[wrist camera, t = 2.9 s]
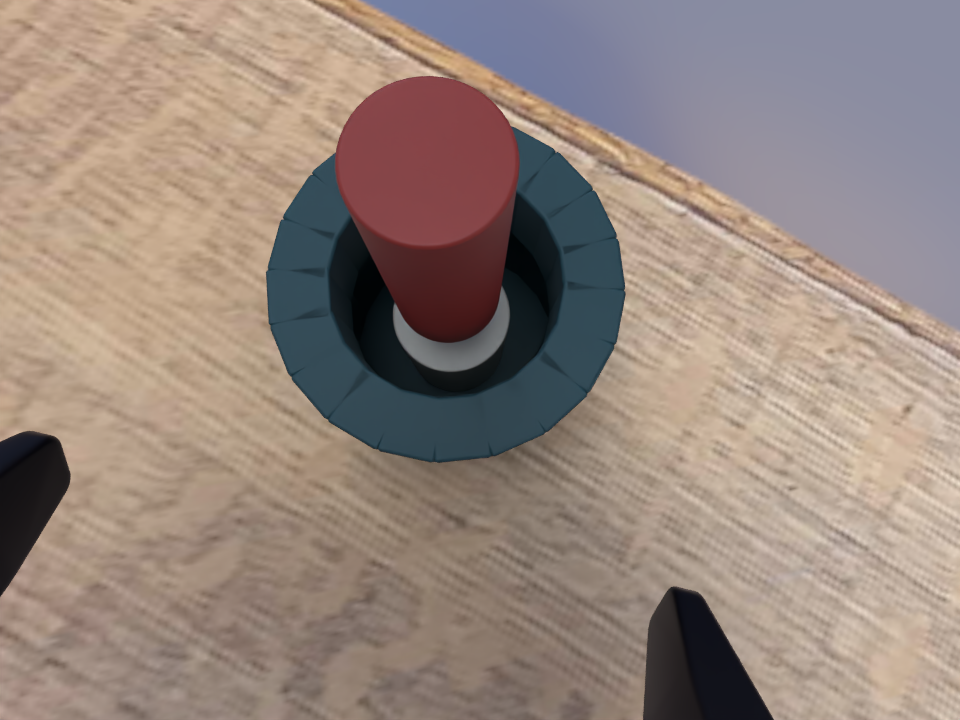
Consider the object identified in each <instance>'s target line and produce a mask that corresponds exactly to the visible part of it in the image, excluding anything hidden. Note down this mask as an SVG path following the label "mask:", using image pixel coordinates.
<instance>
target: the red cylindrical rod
mask: <svg viewBox="0 0 960 720" xmlns="http://www.w3.org/2000/svg"><path fill="white" fill-rule="evenodd" d="M519 167H520V160H519V150H518V145H517V141H516V138H515V135H514V132H513V130H512V128H511V126H510V124H509V122H508V120H507V119H506V117H505V116H504V114H503V113H502V112H501V110H500V109H499V108H498V107H497V106H496V105H495V104H494V103H493V102H492V101H491V100H490V99H489V98H488V97H486V96H485V95H484V94H482V93H481V92H479V91H478V90H476V89H475V88H473V87H471V86H469V85H467V84H465V83H462V82H459V81H456V80H453V79H448V78H444V77H434V76H421V77H413V78H407V79H403V80H400V81H396V82H394V83H391V84H389V85H386V86H384V87H383V88H381V89H379V90H377V91H376V92H374V93H373V94H371V95H370V96H369V97H367V98H366V99H365V100H364V101H363V102H362V103H361V104H360V105H359V106H358V107H357V108H356V109H355V111H354V112H353V113H352V114H351V116H350V117H349V119H348V121H347V122H346V124H345V126H344V128H343V130H342V133H341V135H340V138H339V141H338V145H337V149H336V156H335V173H336V180H337V185H338V188H339V191H340V194H341V196H342V199H343V201H344V203H345V205H346V207H347V209H348V211H349V213H350V215H351V217H352V219H353V221H354V223H355V225H356V227H357V229H358V231H359V233H360V235H361V237H362V239H363V241H364V242H365V244H366V246H367V248H368V250H369V252H370V254H371V256H372V258H373V260H374V262H375V264H376V266H377V268H378V270H379V272H380V274H381V276H382V278H383V280H384V282H385V284H386V286H387V288H388V290H389V292H390V294H391V296H392V298H393V300H394V308H393V323H394V329H395V332H396V335H397V337H398V340H399V342H400V343H401V345H402V347H403V348H404V350H405V351H406V353H407V355H408V356H409V358H410V359H411V361H412V362H413V364H414V365H415V367H416V369H417V370H418V372H419V373H420V374H421V376H422V377H423V378H424V379H425V380H426V381H428V382H429V383H430V384H432V385H434V386H435V387H437V388H440V389H443V390H447V391H454V392H456V391H466V390H470V389H473V388H475V387H477V386H479V385H481V384H482V383H484V382H485V381H486V380H487V379H488V378H489V377H490V376H491V375H492V374H493V373H494V371H495V370H496V368H497V366H498V364H499V361H500V358H501V355H502V351H503V347H504V343H505V339H506V335H507V332H508V327H509V322H510V307H509V302H508V299H507V295H506V293H505V291H504V289H503V287H502V279H503V273H504V266H505V260H506V254H507V247H508V241H509V235H510V228H511V222H512V216H513V209H514V203H515V196H516V190H517V184H518V177H519Z"/></svg>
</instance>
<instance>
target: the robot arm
mask: <svg viewBox="0 0 960 720" xmlns="http://www.w3.org/2000/svg"><path fill="white" fill-rule="evenodd" d="M69 484H70V471H69V467H68V464H67V461H66V458H65V455H64V452H63V448H62V445H61V443H60V441H59V440H58V439H57V438H56V437H54V436H51V435H47V434H43V433H39V432H35V431H26V432H22V433H19V434H17V435H14V436H12V437H10V438H8V439H5V440H3V441H1V442H0V596H1V595H2V594H3V592H4V591H5V589H6V588H7V587H8V585H9V584H10V582H11V581H12V579H13V578H14V576H15V575H16V573H17V572H18V570H19V569H20V567H21V565H22V564H23V562H24V560H25V559H26V557H27V555H28V554H29V552H30V551H31V549H32V547H33V546H34V544H35V542H36V541H37V539H38V537H39V536H40V534H41V532H42V531H43V529H44V528H45V526H46V524H47V523H48V521H49V519H50V518H51V516H52V514H53V513H54V511H55V509H56V508H57V506H58V504H59V503H60V501H61V500H62V498H63V496H64V495H65V493H66V491H67V489H68V487H69ZM643 720H774V719H773V717H772V715H771V714H770V712H769V710H768V708H767V707H766V705H765V703H764V701H763V700H762V698H761V696H760V695H759V693H758V691H757V689H756V688H755V686H754V684H753V682H752V681H751V679H750V677H749V675H748V674H747V672H746V670H745V669H744V667H743V665H742V663H741V662H740V660H739V658H738V656H737V655H736V653H735V651H734V649H733V648H732V646H731V644H730V643H729V641H728V639H727V637H726V636H725V634H724V632H723V630H722V629H721V627H720V625H719V623H718V622H717V620H716V618H715V616H714V615H713V613H712V611H711V610H710V608H709V606H708V604H707V603H706V601H705V599H704V598H703V597H702V595H700V594H699V593H698V592H696V591H692V590H688V589H684V588H679V587H671V588H669V589H668V591H667V592H666V594H665V595H664V597H663V599H662V600H661V602H660V604H659V605H658V607H657V609H656V610H655V612H654V614H653V615H652V617H651V620H650V623H649V628H648V640H647V658H646V676H645V694H644V712H643Z"/></svg>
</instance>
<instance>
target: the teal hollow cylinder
mask: <svg viewBox="0 0 960 720" xmlns="http://www.w3.org/2000/svg"><path fill="white" fill-rule="evenodd" d="M511 128H512V130H513V132H514V135H515V138H516V141H517V145H518V150H519V160H520V167H519V177H518V184H517V190H516V196H515V203H514V209H513V216H512V222H511V228H510V235H509V241H508V247H507V254H506V260H505V266H504V273H503V279H502V287H503V289H504V291H505V293H506V295H507V299H508V302H509V307H510V322H509V327H508V332H507V335H506V339H505V343H504V347H503V351H502V355H501V358H500V361H499V364H498V366H497V368H496V370H495V371H494V373H493V374H492V375H491V376H490V377H489V378H488V379H487V380H486V381H485V382H484V383H482V384H481V385H479V386H477V387H475V388H473V389H470V390H466V391H456V392H454V391H447V390H443V389H440V388H437V387H435V386H434V385H432V384H430V383H429V382H428V381H426V380H425V379H424V378H423V377H422V376H421V374H420V373H419V372H418V370H417V369H416V367H415V365H414V364H413V362H412V361H411V359H410V358H409V356H408V355H407V353H406V351H405V350H404V348H403V347H402V345H401V343H400V342H399V340H398V337H397V335H396V332H395V329H394V323H393V308H394V300H393V298H392V296H391V294H390V292H389V290H388V288H387V286H386V284H385V282H384V280H383V278H382V276H381V274H380V272H379V270H378V268H377V266H376V264H375V262H374V260H373V258H372V256H371V254H370V252H369V250H368V248H367V246H366V244H365V242H364V241H363V239H362V237H361V235H360V233H359V231H358V229H357V227H356V225H355V223H354V221H353V219H352V217H351V215H350V213H349V211H348V209H347V207H346V205H345V203H344V201H343V199H342V196H341V194H340V191H339V188H338V185H337V180H336V173H335V156H336V153H335V154H333V155H332V156H331V157H330V158H328V159H327V160H326V161H325V162H323V163H322V164H321V165H320V166H319V167H317V168H316V169H315V170H314V171H313V172H312V174H313V175H310V176H309V177H308V179H307V180H306V182H305V183H304V185H303V186H302V188H301V189H300V191H299V192H298V194H297V195H296V197H295V198H294V200H293V202H292V203H291V205H290V206H289V208H288V209H287V211H286V212H285V214H284V216H283V219H284V220H281V222H280V225H279V228H278V232H277V236H276V239H275V243H274V247H273V250H272V254H271V257H270V261H269V265H268V271H267V272H266V279H267V298H268V317H269V324H270V325H271V331H272V334H273V336H274V339H275V341H276V344H277V346H278V349H279V351H280V354H281V356H282V359H283V361H284V364H285V366H286V369H287V371H288V374H289V375H290V376H291V377H292V380H293V382H294V383H295V384H296V385H297V386H298V387H299V389H300V390H301V391H302V392H303V393H304V394H305V396H306V397H307V398H308V399H309V400H310V402H311V403H312V404H313V405H314V406H315V407H316V409H317V410H318V411H319V412H320V413H321V414H322V416H323V417H324V418H326V419H328V421H329V422H330V423H331V424H333V425H335V426H336V427H338V428H340V429H342V430H343V431H345V432H347V433H348V434H350V435H352V436H353V437H355V438H357V439H358V440H360V441H362V442H363V443H365V444H367V445H368V446H370V447H372V448H373V449H378V450H379V451H381V452H386V453H390V454H395V455H399V456H404V457H409V458H413V459H418V460H422V461H427V462H437V463H440V462H450V461H460V460H470V459H479V458H489V457H491V456H496V455H499V454H501V453H503V452H505V451H508V450H510V449H512V448H514V447H517V446H519V445H521V444H523V443H526V442H528V441H530V440H532V439H534V438H537V437H539V436H541V435H543V434H544V433H545V432H548V431H549V430H550V429H551V428H552V427H554V426H555V425H556V424H557V423H558V422H559V421H560V420H561V419H562V418H563V417H565V416H566V415H567V414H568V413H569V412H570V411H571V410H572V409H573V408H574V407H575V406H577V405H578V404H579V403H580V402H581V401H582V400H583V399H584V398H585V397H586V396H587V393H588V392H590V391H591V389H592V387H593V385H594V384H595V382H596V380H597V378H598V377H599V375H600V373H601V371H602V369H603V368H604V366H605V364H606V362H607V360H608V359H609V357H610V355H611V353H612V351H613V350H614V345H615V344H616V342H617V337H618V332H619V327H620V321H621V316H622V311H623V305H624V300H625V291H624V289H625V282H624V275H623V268H622V261H621V254H620V246H619V241H618V239H616V237H617V235H616V232H615V230H614V228H613V226H612V224H611V222H610V220H609V218H608V216H607V214H606V212H605V210H604V208H603V206H602V204H601V201H600V199H599V197H598V195H597V193H596V192H595V191H592V190H593V188H592V186H591V185H590V184H589V183H588V182H587V181H586V180H585V179H584V178H583V177H582V176H581V175H580V174H579V173H578V172H577V171H576V170H575V169H574V168H573V166H572V165H571V164H570V163H569V162H568V161H567V160H566V159H565V158H564V157H563V156H562V155H561V154H560V153H558V152H557V153H555V150H554V149H553V148H551V147H550V146H548V145H546V144H544V143H542V142H540V141H539V140H537V139H535V138H533V137H531V136H529V135H528V134H526V133H524V132H522V131H520V130H518V129H517V128H515V127H512V126H511Z"/></svg>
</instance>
